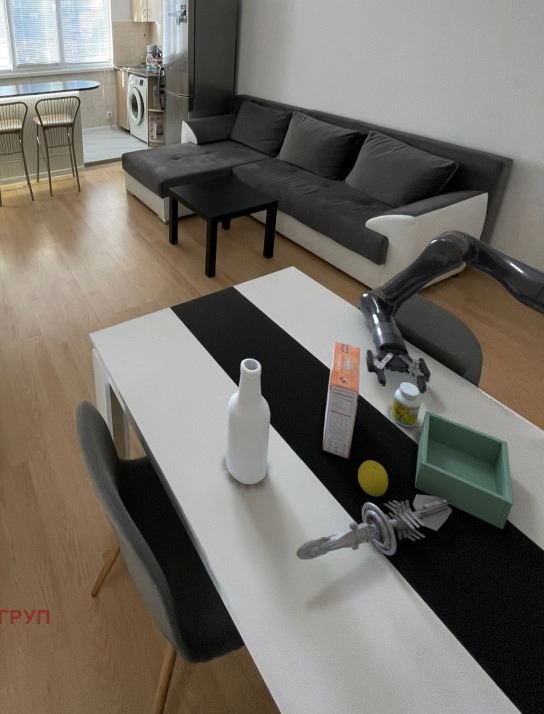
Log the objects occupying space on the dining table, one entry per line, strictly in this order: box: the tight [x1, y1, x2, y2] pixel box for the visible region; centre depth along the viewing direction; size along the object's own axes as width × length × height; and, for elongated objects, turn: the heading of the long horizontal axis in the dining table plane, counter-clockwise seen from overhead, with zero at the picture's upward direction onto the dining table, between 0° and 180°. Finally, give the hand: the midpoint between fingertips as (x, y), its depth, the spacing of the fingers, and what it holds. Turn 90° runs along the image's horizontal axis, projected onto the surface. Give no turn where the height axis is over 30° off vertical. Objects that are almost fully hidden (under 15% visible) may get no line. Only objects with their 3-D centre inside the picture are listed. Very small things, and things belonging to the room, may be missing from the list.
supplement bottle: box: [390, 381, 422, 428], centre depth 104 cm, size 5×5×10 cm
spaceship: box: [295, 494, 453, 561], centre depth 80 cm, size 8×35×8 cm
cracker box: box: [322, 341, 361, 460], centre depth 99 cm, size 14×6×21 cm, turn 154°
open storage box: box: [414, 410, 514, 530], centre depth 90 cm, size 15×15×8 cm
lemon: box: [357, 459, 389, 497], centre depth 89 cm, size 6×6×8 cm
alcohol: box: [225, 358, 271, 485], centre depth 91 cm, size 9×9×30 cm
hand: (403, 387), depth 107 cm, fingers open, 8 cm apart
